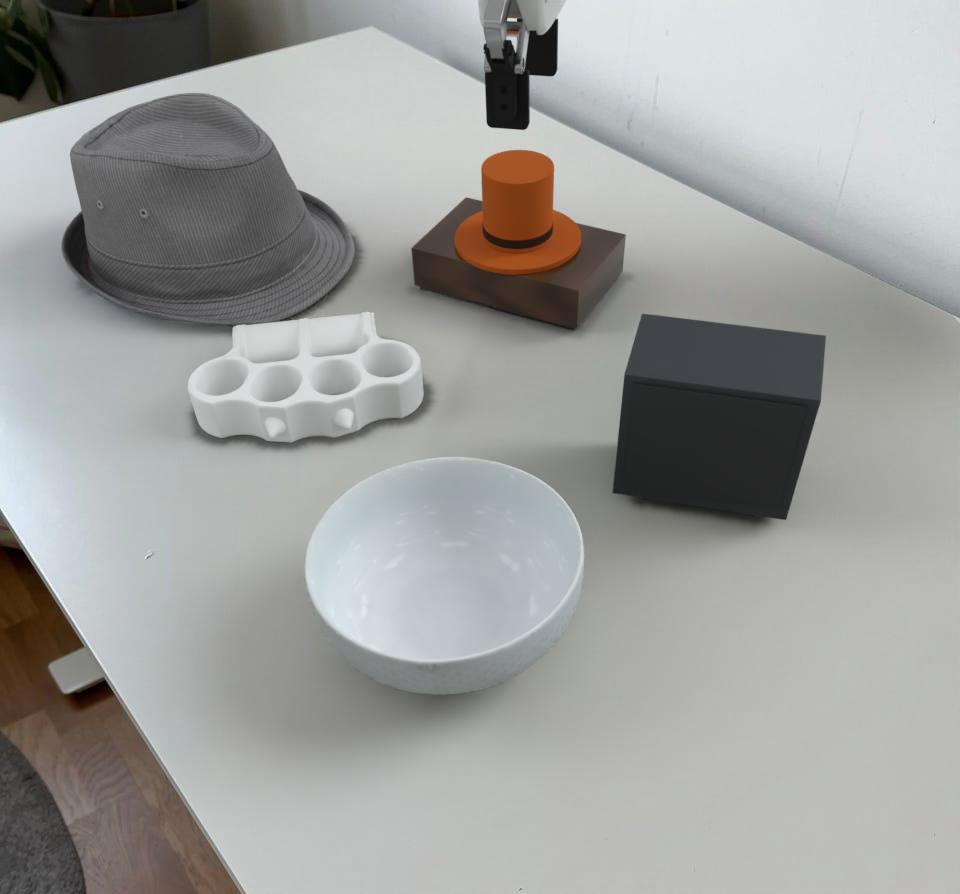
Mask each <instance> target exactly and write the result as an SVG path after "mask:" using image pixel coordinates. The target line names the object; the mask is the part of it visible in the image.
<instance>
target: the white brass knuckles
mask: <svg viewBox="0 0 960 894" xmlns="http://www.w3.org/2000/svg"><path fill="white" fill-rule="evenodd" d="M231 333H232V334H231V337H232V338H231V339H232V340H231V341H232V348H231V349H230V350H229V351H227V353H226V354H224V355H222V356H218V357H215V358H212V359H209V360H208V361H205V362H203V363H202V364H201V365H199V366H197V368H196V369H194V371H193V372H192V373H191V374H190V376H189V378H188V381H187V392H188V395H189V398H190V401H191V404H192V408H193V410H194V411H193V412H194V414H195V417H196V420H197V423H198V425H199V427H200V428H201V429H202V431H204V433H206V434H209V435H210V436H213V437H215V438H220V439H224V438H228V437H232V436H245V435H246V436H254V437H258V438H261V439H263V440H265V441H266V442H277V443H291V444H292V443H293V442H296V441H299V440H301V439H305V438H310V437H311V438H312V437H328V438H329V437H330V438H334V439H337V438H339V437H342V436H346V435H349V434H350V435H351V434H352V433H356V432H359V431H360V430H361V429H363V428H364V427H366V426H367V425H369V424H371V423H374V422H377V421H380V420H386V419H404V418H406V417H408V416H409V415H411V414H413V413H414V412H415V411H416V410H417V409H418V408H419V407H420V406H421V404H422V403H423V399H424V393H425V391H424V381H423V380H424V379H423V369H422V360H421V357H420V355H419V353H418V351H417V350H416V349H415V348H414V347H412V346H411V345H409V344H407V343H405V342H402V341H400V340H395V339H394V340H393V339H387V338H386V339H385V338H382V337H380V336H379V335H377V327H376V319H375V312H370V311H362V312H361V313H354V314H353V313H352V314H343V315H334V316H332V315H331V316H323V317H313V318H308V317H304V318H299V319H291V320H280V321H277V322H271V323H262V324H252V325H245V324H244V325H236V326H232V332H231Z"/></svg>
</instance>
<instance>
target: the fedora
mask: <svg viewBox="0 0 960 894" xmlns="http://www.w3.org/2000/svg"><path fill="white" fill-rule="evenodd" d="M69 158H70V165H71V166H70V167H71V170H72V176H73V181H74V186H75V191H76V193H77V198H78V201H79V206H80V212H78V213H77V214H76V215H75V216H74V217H73V219H72V220H71V221H70V223H69V224H68V226H67V227H66V229H65V231H64V233H63V235H62V239H61V246H60V248H61V254H62V258H63V260H64V262H65V264H66V265H67V267H68V268H69V269H70V271H71V272H72V273H73V275H74V276H75V277H77V279H79V280H80V281H81V282H82V283H83V284H84V285H85V286H86V287H87V288H88V289H90V290H92V292H93V293H95V294H96V295H98V296H99V297H101V298H102V299H104V300H105V301H108V302H109V303H112V304H114V305H116V306H118V307H121V308H123V309H125V310H129V311H131V312H134V313H139V314H143V315H147V316H150V317H153V318H159V319H165V320H170V321H177V322H184V323H190V324H200V325H208V326H209V325H210V326H223V327H225V326H226V327H234V326H236V325H244V324H245V325H252V324H262V323H271V322H281V321H284V320H286V319H288V318H290V317H293V316H295V315H297V314H299V313H302V312H304V311H305V310H307V309H309V308H310V307H312V306H313V305H315V304H316V303H317V302H318V301H320V300H321V299H323V298H324V297H325V296H327V295H328V294H329V293H330V292H331V291H332V290H333V289H334V288H336V286H337V285H338V284H339V283H340V282H341V281H342V280H343V279H344V277H346V275H347V274H348V273H349V271H350V269H351V268H352V266H353V262H354V258H355V255H356V253H355V252H356V251H355V250H356V247H355V242H354V238H353V236H352V234H351V231H350V229H349V227H348V225H346V223H345V222H344V220H343V218H342V217H341V216H340V215H339V213H337V211H335V210H334V208H332V207H331V206H330V205H329V204H327V203H326V202H324V201H323V200H321V199H320V198H319V197H317V196H315V195H312V194H310V193H308V192H306V191H303V190H301V189H299V188H297V185H296V183H295V181H294V179H293V178H292V177H291V174H289V172H288V169H287V167H286V165H285V163H284V161H283V159H282V156H281V154H280V152H279V151H278V149H277V147H276V144H275V142H274V141H273V139H272V138H271V137H270V135H269V134H268V133H267V132H266V131H265V130H263V129H262V128H261V126H259V125H258V124H257V123H256V122H255V121H254V120H253V119H252V118H251V117H250V116H249V115H247V114H246V113H245V112H244V110H242V109H241V108H240V107H238V106H237V105H235V104H233V102H230V101H228V100H226V99H224V98H223V97H220V96H217V95H213V94H210V93H204V92H203V93H202V92H184V93H176V94H172V95H166V96H161V97H158V98H154V99H152V100H149V101H146V102H141V103H139V104H138V103H137V104H135V105H133V106H130V107H127V108H125V109H124V110H121V111H119V112H117V113H115V114H113V115H111V116H109V117H108V118H106V119H105V120H104V121H102V122H101V123H100V124H98V125H95V126H94V127H93V128H91V129H90V130H88V131H87V132H85V133H84V134H83V135H81V137H80V138H79V139H78V140H77V141H76V142H75V143H74V144H73V145H72V147H71V149H70V152H69Z"/></svg>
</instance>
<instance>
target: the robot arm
mask: <svg viewBox="0 0 960 894" xmlns="http://www.w3.org/2000/svg"><path fill="white" fill-rule="evenodd" d="M566 1H567V0H477V3H478V6H477V7H478V14H479V21H480V22H479V23H480V25H481V27H482V29H483V34H484V39H485V43H484V44H483V48H482V49H483V55H484V59H483V61H484V62H483V71H484V88H485V89H484V91H485V113H486V114H485V116H486V125H487V126H488V127H489V128H492V129H501V130H502V129H505V130H515V131H516V130H517V131H525V130H527V129H528V127H529V125H530V123H531V122H530V121H531V120H530V119H531V116H530V115H531V114H530V113H531V109H530V107H531V106H530V104H531V103H530V102H531V101H530V100H531V99H530V93H531V92H530V76H534V77H535V76H539V77H554V76H556V74H557V72H558V61H559V59H558V58H559V57H558V55H559V53H558V52H559V18H558V16H559V14H560V12H562V11H561V10H562V9H563V7H564V6H565V4H566ZM508 19H516V20H515V21H514V20H508ZM507 37H508V38H516V48H515V46H514V45H513V42H512V39H507Z"/></svg>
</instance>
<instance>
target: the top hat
mask: <svg viewBox="0 0 960 894" xmlns="http://www.w3.org/2000/svg"><path fill="white" fill-rule="evenodd" d="M480 168H481V169H480V170H481V201H482V210H483V211H481V212H478V213H476V214H474V215H472V216H470V217H469V218H467V219H466V220H465V221H464V222H462V223H461V225H460V226H459V227H458V229H457V231H456V233H455V247H456V250H457V252H458V253H459V255H460V256H461V257H462V258H463V259H464V260H465V261H467V262H468V263H469V264H471V265H473V266H475V267H477V268H480V269H483V270H486V271H490V272H494V273H501V274H512V275H518V274H532V273H538V272H543V271H547V270H550V269H553V268H555V267H558V266H560V265H562V264H564V263H566V262H567V261H568V260H570V259H571V258H572V257H573V256H574V255H575V254H576V253H577V251H578V250H579V247H580V244H581V232H580V229H579V227H578V226H577V224H576V223H577V222H576V221H574V220H573V219H572V218H571V217H570V216H568V215H566V214H564V213H563V212H560V211H558V210H555V209H554V191H555V189H554V188H555V163H554V161H553V160H552V159H551V158H550V157H549V156H548V155H546V154H544V153H541V152H538V151H534V150H527V149H510V150H504V151H500V152H497V153H494V154H492V155H490V156H489V157H487V158H486V159H485V160H484V161H483V162H482V164H481V167H480Z"/></svg>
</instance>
